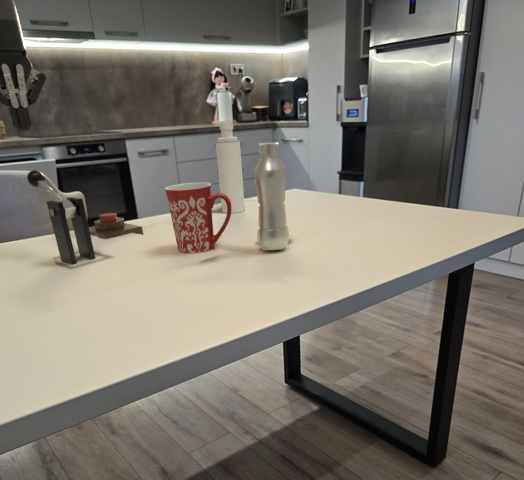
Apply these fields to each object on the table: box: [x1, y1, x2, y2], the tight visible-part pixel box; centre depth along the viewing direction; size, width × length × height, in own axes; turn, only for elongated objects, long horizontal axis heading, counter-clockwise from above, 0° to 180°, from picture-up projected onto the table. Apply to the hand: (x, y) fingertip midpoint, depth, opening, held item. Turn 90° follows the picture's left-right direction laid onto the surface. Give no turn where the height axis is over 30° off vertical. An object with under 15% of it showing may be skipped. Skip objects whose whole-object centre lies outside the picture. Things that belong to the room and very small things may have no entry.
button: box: [99, 212, 118, 222], centre depth 115 cm, size 4×4×2 cm
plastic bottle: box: [253, 142, 290, 251], centre depth 93 cm, size 6×7×20 cm
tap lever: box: [26, 169, 76, 221], centre depth 92 cm, size 14×3×3 cm, turn 48°
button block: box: [89, 216, 144, 240], centre depth 117 cm, size 12×10×4 cm
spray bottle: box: [215, 120, 246, 214], centre depth 133 cm, size 7×7×25 cm
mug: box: [164, 181, 232, 254], centre depth 95 cm, size 13×9×14 cm
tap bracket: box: [46, 196, 96, 266], centre depth 92 cm, size 10×8×13 cm
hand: (23, 130), depth 90 cm, fingers closed
